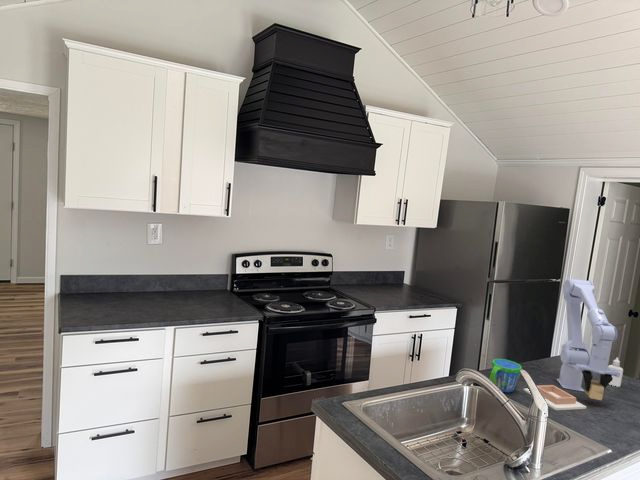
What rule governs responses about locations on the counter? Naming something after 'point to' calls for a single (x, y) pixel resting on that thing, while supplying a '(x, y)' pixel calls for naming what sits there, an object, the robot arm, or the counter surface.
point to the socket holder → (558, 398)
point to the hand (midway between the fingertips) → (593, 391)
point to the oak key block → (595, 390)
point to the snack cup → (505, 374)
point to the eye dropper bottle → (616, 363)
